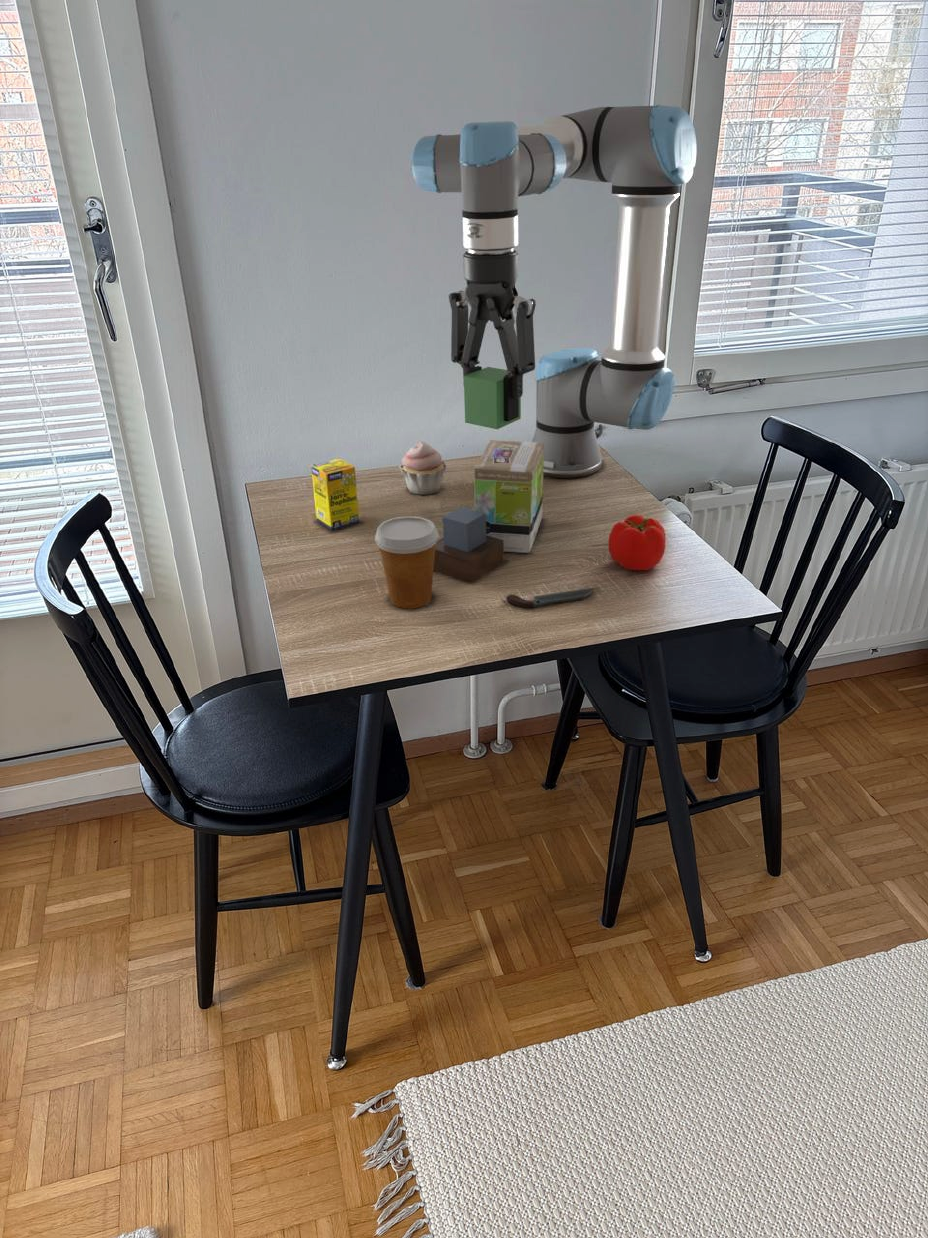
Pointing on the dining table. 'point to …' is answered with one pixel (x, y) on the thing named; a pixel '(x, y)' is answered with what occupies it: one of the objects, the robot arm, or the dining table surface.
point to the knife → (550, 598)
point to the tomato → (637, 543)
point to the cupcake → (423, 469)
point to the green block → (486, 398)
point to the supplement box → (335, 494)
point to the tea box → (511, 492)
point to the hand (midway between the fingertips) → (493, 414)
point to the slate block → (464, 529)
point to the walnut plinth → (468, 559)
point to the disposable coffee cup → (408, 559)
